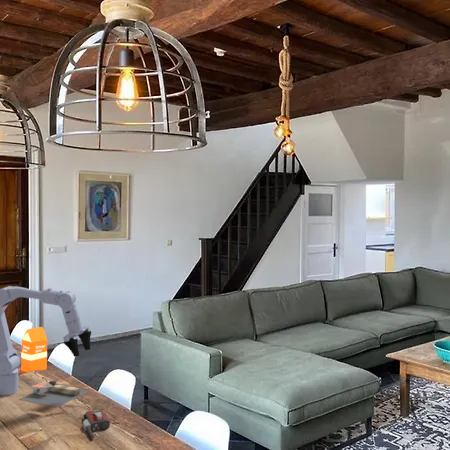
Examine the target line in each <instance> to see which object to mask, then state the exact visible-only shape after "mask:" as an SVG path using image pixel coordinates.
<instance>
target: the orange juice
mask: <svg viewBox="0 0 450 450" xmlns="http://www.w3.org/2000/svg"><path fill="white" fill-rule="evenodd" d="M20 358H21V364H20V367H21V368H20V370H21V371H22V372H24V373H30V372H33V371H44V370H47V366H48V365H47V363H48V338H47V336H46V332H45V330H44V328H43V326H39V327H34V328H29V329H26V331H25V333H24V335H23V337H22V339H21V357H20Z"/></svg>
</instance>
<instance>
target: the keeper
mask: <svg viewBox="0 0 450 450" xmlns="http://www.w3.org/2000/svg"><path fill="white" fill-rule="evenodd" d="M51 387H52V385H50V383H49V384H48V383H35V384H34V385H31V388H30V389H32V394H35V395H37V394H39V393H40V390H48V389H50V388H51Z"/></svg>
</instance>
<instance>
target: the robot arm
mask: <svg viewBox="0 0 450 450" xmlns="http://www.w3.org/2000/svg"><path fill="white" fill-rule="evenodd" d="M18 298H26V299H35V300H40V302H41V304H47V305H51V306H52V305H54V306H58V307H59V308H61V310H62V311H61V312H62V314H63V315H62V316H63V318H64V320H65V321H64V322H65V325H66V328H67V331H68V333H67V334H66V335H65V336H63V337H62V338H63V345H65V346H66V347H67V348H68V349H69V351H70V352H71V354H72V355H73V357H74V358H76V357H79V356H80V351H79V345H78V338H76V337H79V339H80V341H81V343H82V346H83V348H84V351H89V350H91V336H92V331H91V330H90V326H89V325H86V326H83V325H82V321H81V318H80V313H79V311H78V308H77V305H76V295H75V293H73V292H72V291H65V292H64V291H63V290H53V288H50V287H48V288H45V289H43V290H42V291H41V290H36V289H31V288H27V287H21V286H13V285H7V286H5V287H2V288H0V395H1V396H12V395H16V394H17V393H18V392H19V367H21V357H20V355H19V354H18V350H16V349H15V348H14V347H13V343H12V339H11V335H10V331H9V325H8V322H7V318H6V313H5V310H6V309H7V308H8V306H9V305H10V304H11V303H12V302H14V301H15V300H16V299H18Z"/></svg>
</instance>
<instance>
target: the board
mask: <svg viewBox="0 0 450 450" xmlns="http://www.w3.org/2000/svg"><path fill="white" fill-rule="evenodd" d="M87 393H90V390H86V389H81V388H80V393H79V394H77V395H70V394H64V393H59V392H53V391H48V390H42V389H40V393H39V394H37V395H35V394H33V393H31V394H28V395H26V396H23V397H21V398H19V399H18V401H23V402H28V403H33V404H38V405H42V406H49V407H54V408H59V407H61V406H63V405H64V404H66V403H68V402H71V401H73V400H75V399H77V398H79V397H81V396H83V395H85V394H87Z"/></svg>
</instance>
